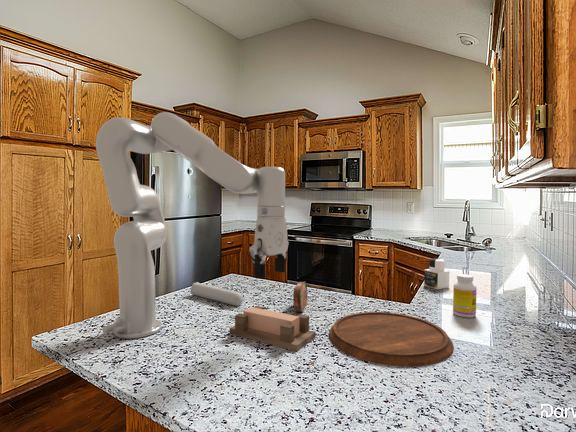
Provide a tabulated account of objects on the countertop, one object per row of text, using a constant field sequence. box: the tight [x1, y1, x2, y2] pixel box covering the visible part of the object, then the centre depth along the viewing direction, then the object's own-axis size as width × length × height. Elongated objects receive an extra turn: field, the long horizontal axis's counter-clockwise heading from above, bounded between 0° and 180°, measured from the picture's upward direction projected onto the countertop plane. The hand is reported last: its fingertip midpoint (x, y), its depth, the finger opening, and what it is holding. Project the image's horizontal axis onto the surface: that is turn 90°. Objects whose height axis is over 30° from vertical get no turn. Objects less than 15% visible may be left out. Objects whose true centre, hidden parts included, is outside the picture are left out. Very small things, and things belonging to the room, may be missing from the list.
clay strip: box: [243, 306, 299, 336], centre depth 95 cm, size 4×16×4 cm, turn 58°
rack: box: [229, 305, 317, 352], centre depth 95 cm, size 10×22×6 cm, turn 58°
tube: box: [190, 281, 245, 307], centre depth 129 cm, size 5×5×25 cm
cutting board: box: [328, 311, 455, 368], centre depth 93 cm, size 32×32×3 cm
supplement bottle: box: [452, 273, 477, 319], centre depth 111 cm, size 7×7×13 cm
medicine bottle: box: [423, 257, 450, 290], centre depth 146 cm, size 7×7×12 cm
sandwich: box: [292, 281, 308, 313], centre depth 119 cm, size 15×3×8 cm, turn 168°
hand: (270, 274), depth 94 cm, fingers open, 9 cm apart
